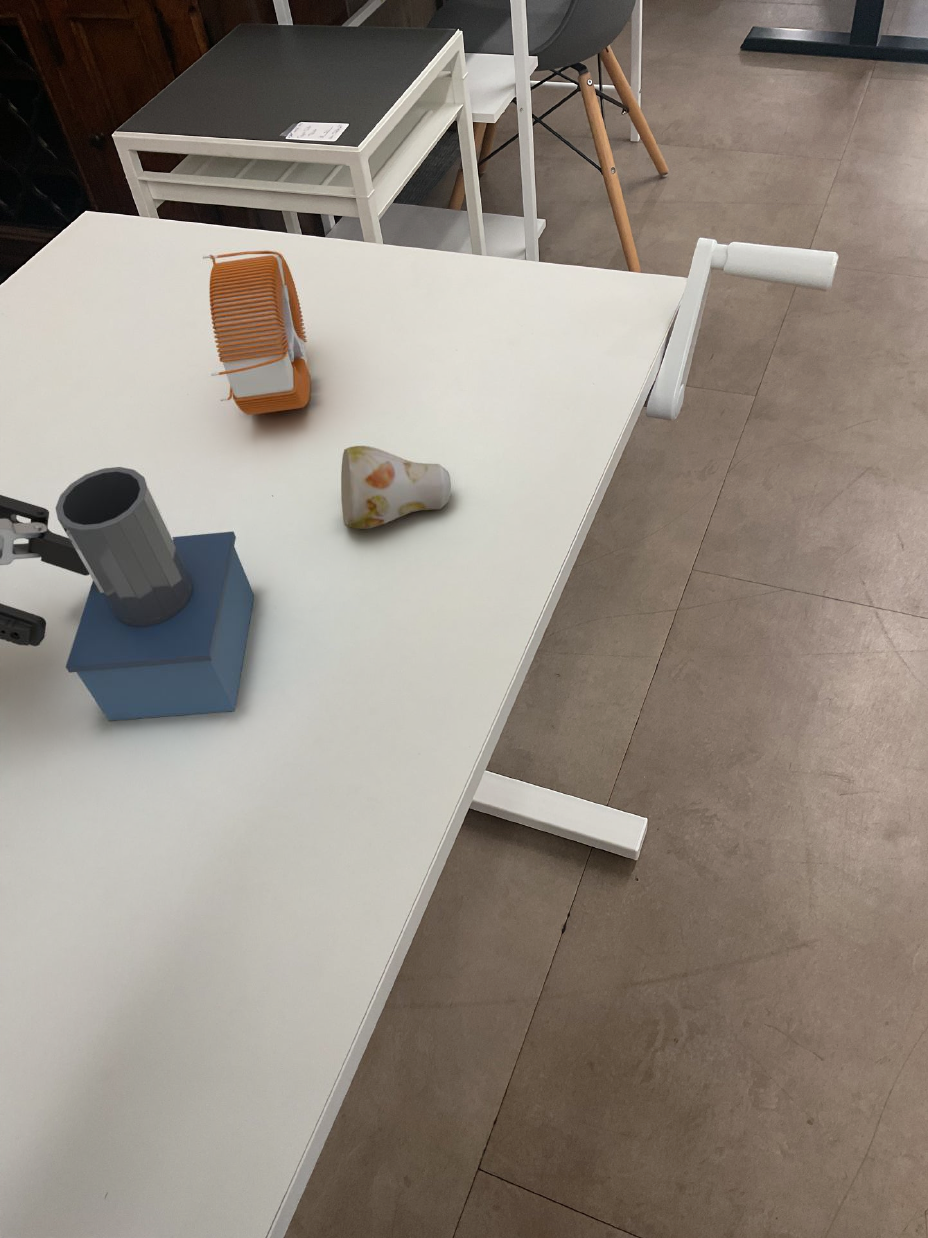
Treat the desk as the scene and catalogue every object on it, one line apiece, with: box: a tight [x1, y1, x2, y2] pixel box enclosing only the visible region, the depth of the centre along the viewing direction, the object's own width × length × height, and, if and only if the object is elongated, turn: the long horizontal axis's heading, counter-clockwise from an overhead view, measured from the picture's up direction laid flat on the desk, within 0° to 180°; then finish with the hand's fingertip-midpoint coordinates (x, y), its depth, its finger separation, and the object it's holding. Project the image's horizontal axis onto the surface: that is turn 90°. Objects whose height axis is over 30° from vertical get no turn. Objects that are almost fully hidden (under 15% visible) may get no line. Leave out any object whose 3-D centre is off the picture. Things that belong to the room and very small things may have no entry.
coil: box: [202, 250, 311, 416], centre depth 97 cm, size 7×15×15 cm, turn 4°
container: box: [65, 531, 255, 722], centre depth 79 cm, size 13×11×7 cm
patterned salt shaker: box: [340, 445, 452, 530], centre depth 87 cm, size 8×10×10 cm
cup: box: [55, 466, 193, 627], centre depth 72 cm, size 6×6×10 cm
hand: (69, 596), depth 72 cm, fingers open, 8 cm apart
